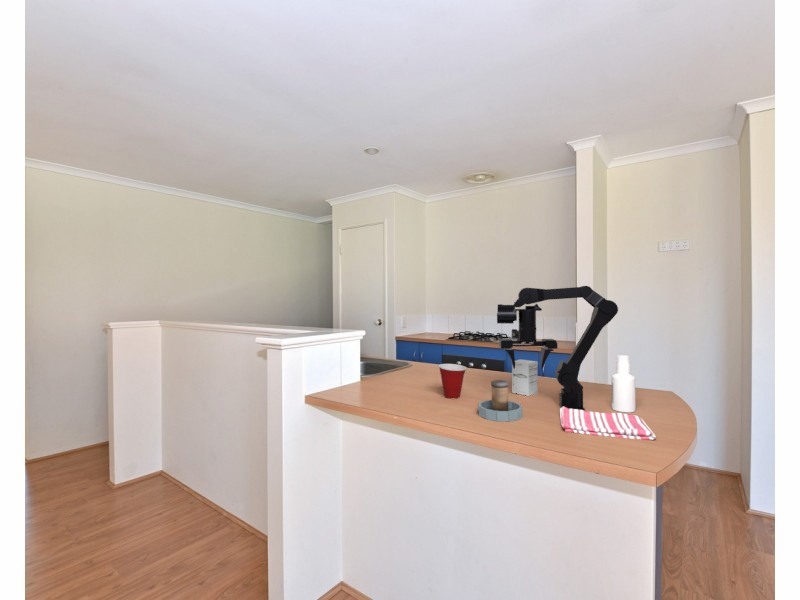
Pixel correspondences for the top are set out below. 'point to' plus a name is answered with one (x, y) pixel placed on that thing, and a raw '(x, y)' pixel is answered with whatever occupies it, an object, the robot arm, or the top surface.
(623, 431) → the dish towel
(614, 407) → the spray bottle
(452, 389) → the plastic cup
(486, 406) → the bowl
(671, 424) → the top surface
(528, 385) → the supplement box
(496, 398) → the walnut jar
